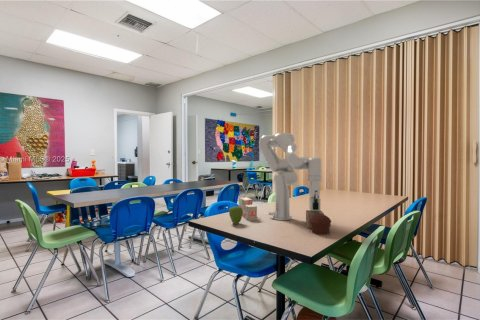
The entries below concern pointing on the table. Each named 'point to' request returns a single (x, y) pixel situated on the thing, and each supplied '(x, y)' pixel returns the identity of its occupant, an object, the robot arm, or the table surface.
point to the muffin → (320, 224)
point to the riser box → (309, 214)
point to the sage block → (312, 204)
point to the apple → (236, 214)
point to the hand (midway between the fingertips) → (314, 208)
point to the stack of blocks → (248, 208)
